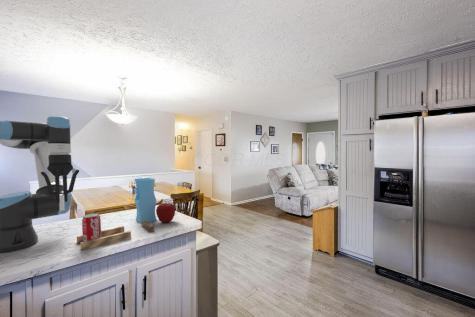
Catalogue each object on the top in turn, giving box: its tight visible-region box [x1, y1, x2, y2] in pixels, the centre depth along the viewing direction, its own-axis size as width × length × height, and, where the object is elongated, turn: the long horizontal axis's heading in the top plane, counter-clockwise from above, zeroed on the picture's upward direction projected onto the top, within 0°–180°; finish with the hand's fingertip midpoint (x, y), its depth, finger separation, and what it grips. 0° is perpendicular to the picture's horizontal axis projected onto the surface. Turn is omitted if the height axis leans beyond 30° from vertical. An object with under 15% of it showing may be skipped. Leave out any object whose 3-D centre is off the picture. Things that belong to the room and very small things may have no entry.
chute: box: [76, 225, 132, 251], centre depth 106 cm, size 20×12×3 cm, turn 133°
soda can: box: [81, 212, 102, 242], centre depth 103 cm, size 7×7×13 cm
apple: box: [155, 202, 176, 224], centre depth 132 cm, size 11×11×12 cm
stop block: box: [141, 221, 156, 233], centre depth 120 cm, size 2×12×3 cm, turn 43°
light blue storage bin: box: [134, 177, 157, 224], centre depth 136 cm, size 10×10×25 cm
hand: (62, 209), depth 95 cm, fingers closed
